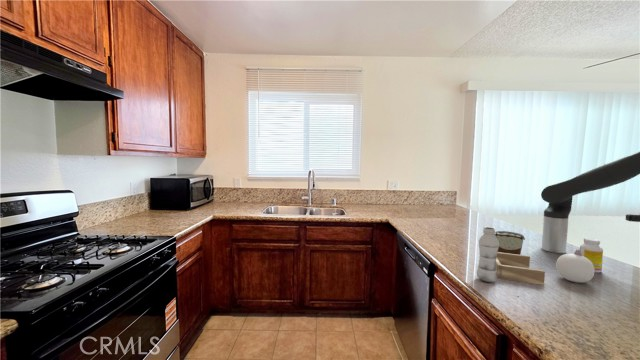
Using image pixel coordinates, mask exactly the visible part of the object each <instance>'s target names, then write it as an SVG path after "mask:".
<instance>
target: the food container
mask: <svg viewBox="0 0 640 360" xmlns="http://www.w3.org/2000/svg"><path fill="white" fill-rule="evenodd" d="M494 235H495V237H496V238H497V240H498V241H499V248H498V252H501V253H509V254H518V255H522V249H523V245H524V241H526V238H525V235H524V234H521V233H517V232H513V231H508V230H507V231H505V230H498V231H497V230H495V234H494Z"/></svg>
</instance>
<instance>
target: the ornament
mask: <svg viewBox="0 0 640 360" xmlns="http://www.w3.org/2000/svg"><path fill="white" fill-rule="evenodd" d="M555 263H556V265H555V266H556V270H557V272H558V274H559V275H560V276H561V277H563V278H564V279H566V281H570V282H572V283H578V284H579V283H580V284H582V283H588V282H589V281H591V280H592V279H593V278H594V275H595V273H596V272H595V270H594V266H593V264H592V262H591V261H590V260H589V259H587V258H586V257H584V256H582V253H581V251H580V249H575V251H574V253H571V252H570V253H569V252H568V253H563V254H562V255H559V257H558V258H557V260H556V262H555Z"/></svg>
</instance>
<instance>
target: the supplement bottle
mask: <svg viewBox="0 0 640 360" xmlns="http://www.w3.org/2000/svg"><path fill="white" fill-rule="evenodd" d="M600 244H601V240H600V239H596V238H591V237H584V238H583V243H581V244H580V245H579V250H580V251H581V253H582V256H584V257H586V258H587V259H589V260H590V261H591V262H592V264H593V266H594V270H595V272H594V273H595V274H597V273H601V272H602V270H603V269H602V268H603V255H604V249H603V247H601V246H600Z"/></svg>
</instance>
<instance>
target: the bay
mask: <svg viewBox="0 0 640 360" xmlns="http://www.w3.org/2000/svg"><path fill="white" fill-rule="evenodd" d="M530 264H531V256H530V255H523V254H521V255H518V254H509V253H501V252H497V259H496V268H497V269H496V270H497V275H498V276H497V279H503V280H509V281H516V282H522V283H530V284H536V285H543V286H545V279H546V278H545V277H546V271H545V270H542V269H536V268H531V267H530Z"/></svg>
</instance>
